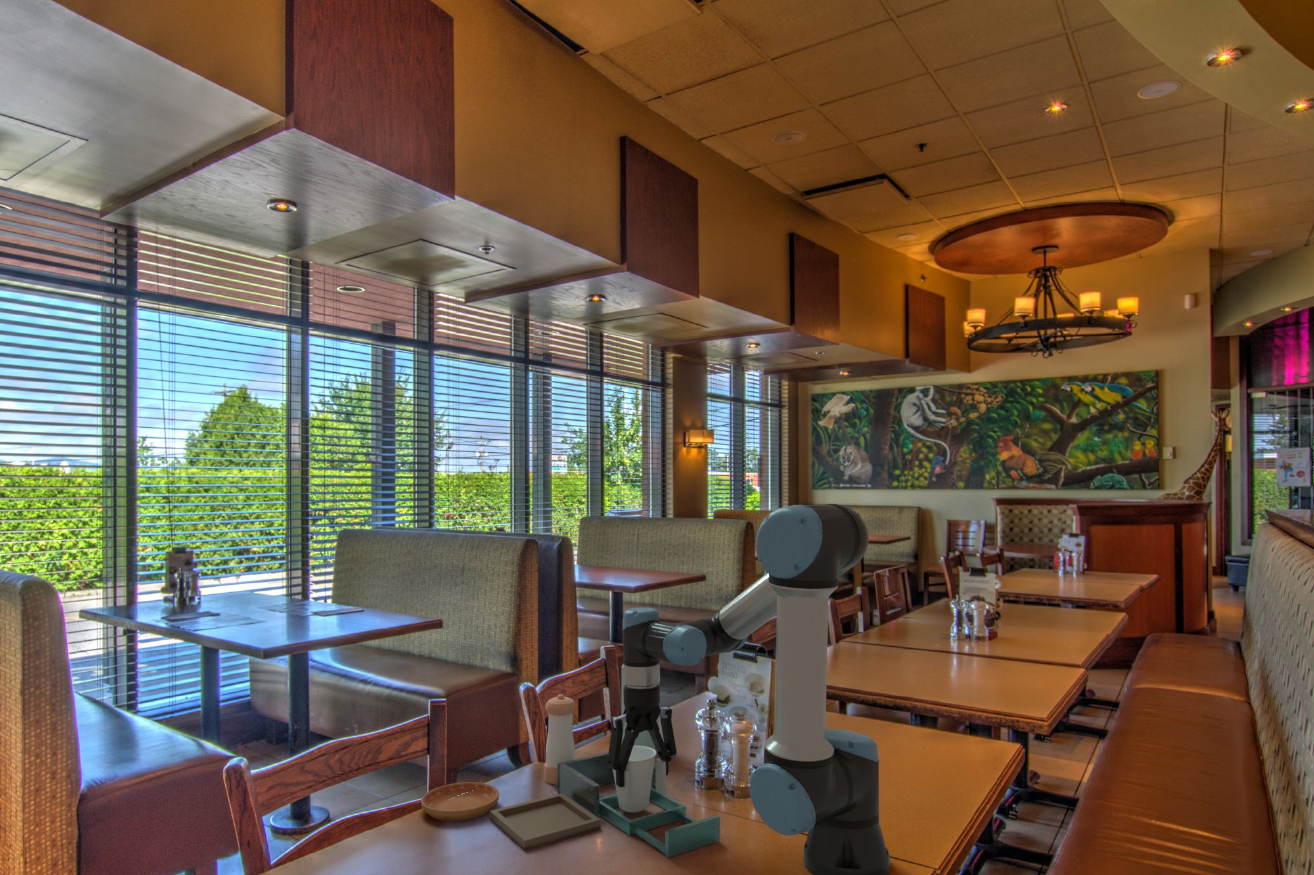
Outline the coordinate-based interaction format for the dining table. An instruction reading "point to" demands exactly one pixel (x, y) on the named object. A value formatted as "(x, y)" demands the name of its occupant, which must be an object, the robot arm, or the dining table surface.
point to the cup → (638, 778)
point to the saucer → (460, 801)
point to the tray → (544, 821)
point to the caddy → (675, 838)
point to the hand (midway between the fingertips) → (643, 797)
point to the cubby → (587, 780)
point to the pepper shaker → (559, 736)
